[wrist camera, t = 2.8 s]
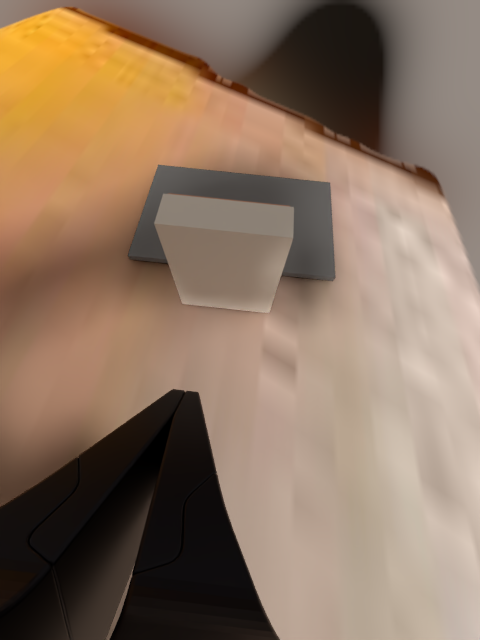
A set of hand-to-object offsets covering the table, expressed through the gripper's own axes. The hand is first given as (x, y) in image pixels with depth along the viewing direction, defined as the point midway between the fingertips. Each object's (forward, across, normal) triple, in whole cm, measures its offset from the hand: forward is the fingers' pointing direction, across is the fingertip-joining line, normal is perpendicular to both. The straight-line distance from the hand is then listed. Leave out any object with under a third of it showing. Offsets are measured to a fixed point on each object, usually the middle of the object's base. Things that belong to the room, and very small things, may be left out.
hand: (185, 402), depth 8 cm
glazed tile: (+17, 0, +1) cm, 17 cm away
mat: (+24, 0, -5) cm, 24 cm away
